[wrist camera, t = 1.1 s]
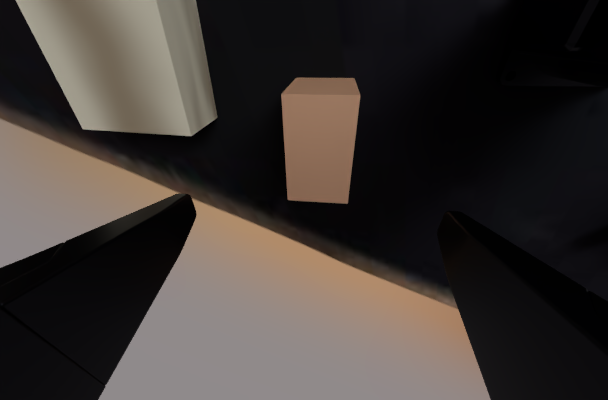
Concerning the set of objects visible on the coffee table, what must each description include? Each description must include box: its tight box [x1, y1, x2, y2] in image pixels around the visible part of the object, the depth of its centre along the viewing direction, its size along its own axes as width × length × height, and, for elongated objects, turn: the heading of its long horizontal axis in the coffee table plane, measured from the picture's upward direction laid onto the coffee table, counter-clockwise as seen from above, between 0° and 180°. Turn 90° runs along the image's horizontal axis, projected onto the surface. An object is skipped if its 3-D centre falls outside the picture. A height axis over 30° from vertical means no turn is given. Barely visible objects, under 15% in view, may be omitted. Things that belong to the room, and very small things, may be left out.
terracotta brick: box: [281, 78, 360, 204], centre depth 15 cm, size 4×6×5 cm, turn 0°
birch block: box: [16, 0, 217, 136], centre depth 14 cm, size 7×7×4 cm
